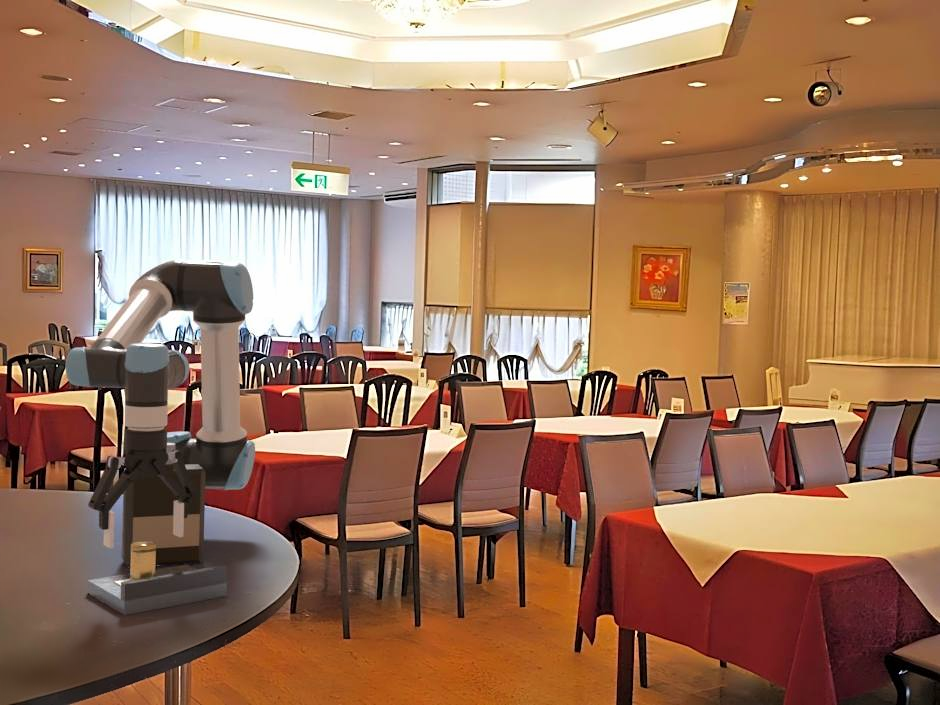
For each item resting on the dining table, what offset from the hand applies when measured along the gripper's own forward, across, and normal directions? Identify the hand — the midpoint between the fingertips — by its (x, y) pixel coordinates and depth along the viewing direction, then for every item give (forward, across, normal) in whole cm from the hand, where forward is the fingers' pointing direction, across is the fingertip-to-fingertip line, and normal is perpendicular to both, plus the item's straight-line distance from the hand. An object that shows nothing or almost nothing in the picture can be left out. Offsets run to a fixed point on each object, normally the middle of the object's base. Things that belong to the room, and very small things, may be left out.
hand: (144, 541), depth 188 cm
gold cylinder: (+10, 0, 0) cm, 11 cm away
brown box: (+11, -14, -20) cm, 27 cm away
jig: (+10, -2, 0) cm, 11 cm away
